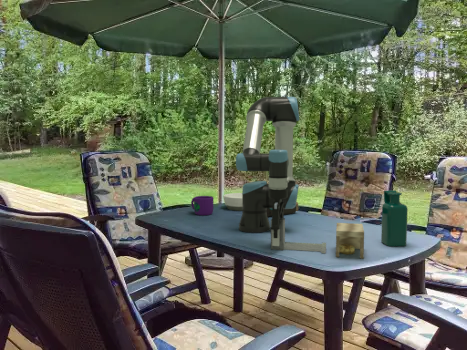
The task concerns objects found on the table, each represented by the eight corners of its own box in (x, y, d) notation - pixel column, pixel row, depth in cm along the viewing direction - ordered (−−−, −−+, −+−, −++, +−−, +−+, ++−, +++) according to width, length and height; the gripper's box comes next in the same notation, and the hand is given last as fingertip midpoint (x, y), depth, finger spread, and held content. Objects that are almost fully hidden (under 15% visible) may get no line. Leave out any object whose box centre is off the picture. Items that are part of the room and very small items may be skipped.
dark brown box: (301, 219, 250) (257, 218, 235) (293, 220, 256) (250, 219, 240) (300, 200, 252) (257, 198, 237) (292, 201, 258) (250, 199, 242)
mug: (217, 214, 252) (217, 197, 251) (202, 216, 244) (202, 199, 243) (199, 210, 264) (198, 194, 264) (183, 212, 257) (183, 196, 256)
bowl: (247, 213, 255) (247, 199, 254) (216, 209, 268) (216, 196, 267) (266, 207, 274) (266, 194, 273) (236, 204, 286) (236, 191, 285)
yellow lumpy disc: (341, 254, 167) (341, 248, 166) (336, 249, 173) (337, 243, 172) (356, 254, 167) (356, 248, 167) (351, 250, 173) (352, 243, 173)
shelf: (335, 256, 164) (336, 230, 163) (336, 246, 178) (336, 222, 177) (363, 258, 161) (364, 232, 160) (361, 248, 176) (362, 223, 175)
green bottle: (408, 246, 178) (409, 193, 176) (388, 246, 177) (389, 193, 175) (397, 240, 188) (398, 190, 186) (378, 241, 187) (379, 190, 185)
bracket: (270, 250, 174) (270, 220, 172) (273, 245, 180) (273, 217, 179) (325, 253, 168) (325, 222, 167) (326, 248, 175) (326, 219, 174)
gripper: (283, 192, 162) (283, 250, 164) (290, 185, 184) (290, 236, 186) (263, 191, 164) (263, 249, 166) (273, 184, 186) (273, 235, 188)
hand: (277, 242), depth 176 cm, fingers open, 11 cm apart
